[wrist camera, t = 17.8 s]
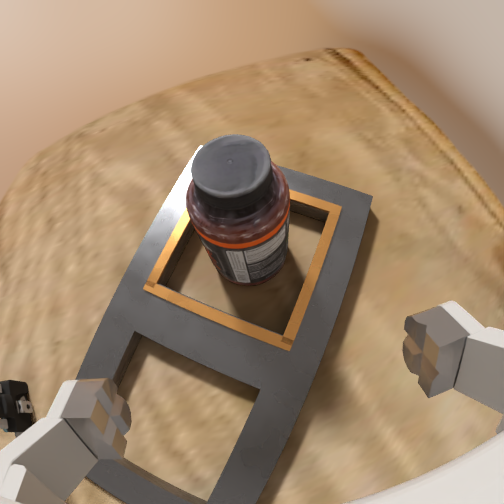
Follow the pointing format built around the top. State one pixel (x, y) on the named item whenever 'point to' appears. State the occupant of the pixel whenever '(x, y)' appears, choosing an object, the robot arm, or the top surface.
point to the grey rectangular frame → (228, 337)
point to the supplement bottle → (240, 208)
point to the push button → (14, 407)
